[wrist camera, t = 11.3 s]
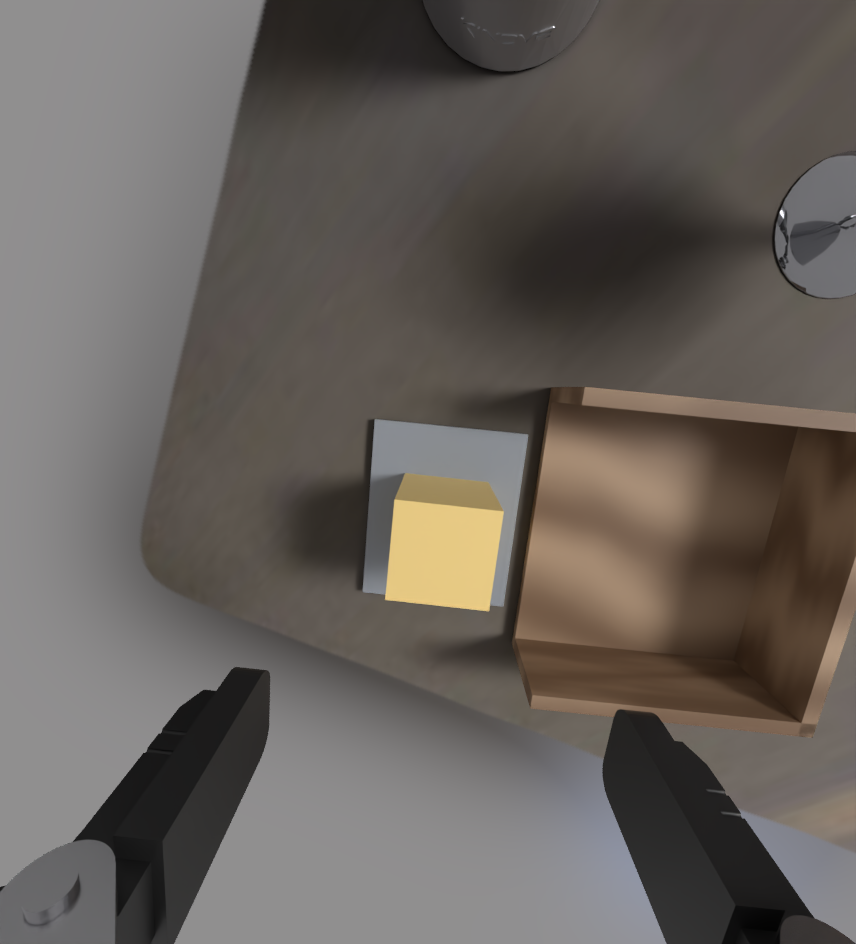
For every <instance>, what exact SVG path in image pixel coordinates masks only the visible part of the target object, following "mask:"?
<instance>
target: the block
mask: <svg viewBox="0 0 856 944" xmlns="http://www.w3.org/2000/svg"><path fill="white" fill-rule="evenodd" d="M503 514H504V511H503V509H502V507H501V505H500V503H499V501H498V499H497V498H496V496H495V494H494V492H493V490H492V488H491V486H490V484H489V482H482V481H473V480H464V479H455V478H446V477H437V476H427V475H418V474H409V473H405V475H404V477H403V480H402V482H401V485H400V487H399V490H398V492H397V495H396V497H395V500H394V510H393V521H392V532H391V543H390V553H389V564H388V575H387V586H386V597H385V600H392V601H401V602H410V603H419V604H428V605H437V606H446V607H455V608H464V609H473V610H482V611H489V608H490V601H491V595H492V588H493V581H494V575H495V568H496V561H497V554H498V548H499V541H500V534H501V528H502V521H503Z"/></svg>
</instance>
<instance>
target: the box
mask: <svg viewBox="0 0 856 944" xmlns="http://www.w3.org/2000/svg"><path fill="white" fill-rule="evenodd" d="M855 610H856V414H854V413H844V412H834V411H824V410H814V409H804V408H794V407H783V406H773V405H763V404H753V403H743V402H733V401H723V400H712V399H702V398H692V397H682V396H672V395H662V394H652V393H641V392H631V391H621V390H611V389H601V388H591V387H552V388H551V392H550V398H549V405H548V411H547V418H546V424H545V431H544V437H543V444H542V450H541V457H540V463H539V470H538V476H537V483H536V489H535V496H534V502H533V509H532V515H531V522H530V528H529V535H528V541H527V548H526V554H525V561H524V567H523V574H522V580H521V587H520V593H519V600H518V606H517V613H516V619H515V626H514V632H513V639H512V646H513V650H514V653H515V656H516V660H517V663H518V667H519V670H520V674H521V677H522V681H523V684H524V688H525V691H526V695H527V698H528V702H529V705H530V708H532V709H541V710H551V711H561V712H570V713H580V714H589V715H599V716H609V717H614V716H615V713H616V711H617V710H619V709H624V710H633V711H643V712H652V713H654V714H656V715H657V716H658V717H659V718H660V720H661V721H662V722H666V723H676V724H686V725H695V726H705V727H714V728H724V729H734V730H743V731H753V732H762V733H772V734H782V735H791V736H801V737H811V738H813V735H814V732H815V729H816V726H817V723H818V720H819V717H820V714H821V711H822V708H823V705H824V702H825V699H826V696H827V693H828V690H829V687H830V684H831V681H832V678H833V675H834V672H835V669H836V666H837V663H838V660H839V657H840V654H841V651H842V648H843V645H844V642H845V640H846V637H847V634H848V631H849V628H850V625H851V622H852V619H853V616H854V613H855Z"/></svg>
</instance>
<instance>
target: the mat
mask: <svg viewBox="0 0 856 944" xmlns="http://www.w3.org/2000/svg"><path fill="white" fill-rule="evenodd" d="M527 441H528V434H523V433H513V432H503V431H493V430H483V429H473V428H462V427H452V426H442V425H432V424H422V423H412V422H402V421H392V420H382V419H375V423H374V437H373V452H372V466H371V480H370V494H369V508H368V522H367V537H366V551H365V565H364V579H363V592H367V593H376V594H386V586H387V575H388V564H389V553H390V543H391V532H392V521H393V510H394V500H395V497H396V495H397V492H398V490H399V487H400V485H401V482H402V480H403V477H404V475H405V473H409V474H418V475H427V476H437V477H446V478H455V479H464V480H473V481H482V482H489V484H490V486H491V488H492V490H493V492H494V494H495V496H496V498H497V499H498V501H499V503H500V505H501V507H502V509H503V511H504V514H503V521H502V528H501V534H500V541H499V548H498V554H497V561H496V568H495V575H494V581H493V588H492V595H491V601H490V605H494V606H503V605H504V598H505V591H506V584H507V577H508V571H509V564H510V557H511V550H512V543H513V536H514V530H515V523H516V516H517V509H518V502H519V495H520V489H521V482H522V475H523V468H524V461H525V454H526V447H527Z"/></svg>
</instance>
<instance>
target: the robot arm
mask: <svg viewBox="0 0 856 944" xmlns="http://www.w3.org/2000/svg"><path fill="white" fill-rule="evenodd" d="M423 3H424V7H425V10H426V12H427V14H428V16H429V18H430V20H431V22H432V24H433V26H434V28H435V30H436V31H437V32H438V33H439V35H440V36H441V37H442V39H443V40H444V41H445V43H446V44H447V45H448V46H449V47H450V48H451V49H453V50H454V51H455V52H456V53H457V54H459V55H460V56H461V57H462V58H463V59H465V60H467V61H470V62H472V63H474V64H476V65H478V66H480V67H482V68H487V69H491V70H496V71H520V70H524V69H527V68H531V67H535V66H538V65H540V64H542V63H544V62H546V61H548V60H549V59H551V58H553V57H555V56H557V55H558V54H559V53H560V52H561V51H563V50H564V49H565V48H566V47H567V46H568V45H570V44H571V43H572V42H573V41H574V40H575V39H576V37H577V36H578V35H579V34H580V32H581V31H582V30H583V28H584V27H585V26H586V25H587V23H588V22H589V20H590V18H591V16H592V14H593V12H594V10H595V8H596V6H597V4H598V3H599V0H423ZM269 703H270V673H269V672H268V671H267V670H259V669H249V668H240V667H235V668H233V669H232V670H231V671H230V673H229V674H228V675H227V677H226V678H225V679H224V681H223V682H222V684H221V686H220V687H219V688H218V689H217V691H211V690H203V691H201V692H200V693H199V694H197V695H196V696H194V697H193V698H192V699H191V700H189V701H188V702H186V703H185V704H183V705H182V706H181V707H180V708H179V709H178V710H177V711H176V713H175V714H174V715H173V717H172V718H171V719H170V720H169V722H168V723H167V724H166V725H165V727H164V728H163V730H162V733H161V734H158V735H157V737H156V738H155V739H154V741H153V742H152V743H151V744H150V746H149V747H148V749H147V752H146V753H143V754H142V756H141V757H140V758H139V759H138V761H137V762H136V763H135V765H134V766H133V767H132V768H131V770H130V771H129V772H128V773H127V775H126V776H125V777H124V778H123V780H122V781H121V783H120V784H119V785H118V786H117V787H116V789H115V790H114V791H113V792H112V794H111V795H110V796H109V797H108V799H107V800H106V801H105V803H104V804H103V805H102V806H101V808H100V809H99V810H98V811H97V813H96V814H95V815H94V817H93V818H92V819H91V820H90V822H89V823H88V824H87V825H86V827H85V828H84V829H83V830H82V832H81V833H80V834H79V835H78V836H77V837H76V839H75V840H74V841H73V842H71V843H68V844H65V845H63V846H60V847H58V848H55V849H53V850H52V851H50V852H48V853H46V854H44V855H43V856H41V857H39V858H38V859H36V860H35V861H33V862H32V863H31V864H29V865H28V866H26V867H25V868H24V869H23V870H22V871H21V872H20V873H18V874H17V875H16V876H15V877H14V878H13V879H12V880H11V881H10V882H9V883H8V884H7V885H6V886H2V887H0V944H174V942H175V940H176V938H177V936H178V934H179V932H180V930H181V927H182V925H183V923H184V921H185V919H186V917H187V915H188V913H189V910H190V908H191V906H192V904H193V902H194V899H195V897H196V895H197V893H198V891H199V889H200V887H201V885H202V883H203V880H204V878H205V876H206V874H207V872H208V870H209V867H210V866H211V863H212V861H213V859H214V857H215V855H216V853H217V851H218V848H219V846H220V844H221V842H222V840H223V838H224V835H225V834H226V831H227V829H228V827H229V825H230V823H231V821H232V818H233V817H234V814H235V812H236V810H237V808H238V806H239V804H240V801H241V799H242V797H243V795H244V793H245V791H246V789H247V787H248V784H249V782H250V780H251V778H252V776H253V774H254V771H255V770H256V767H257V765H258V763H259V761H260V758H261V756H262V754H263V751H264V748H265V744H266V740H267V736H268V730H269V705H270V704H269ZM603 781H604V787H605V791H606V795H607V798H608V800H609V803H610V805H611V808H612V810H613V813H614V815H615V817H616V820H617V822H618V825H619V827H620V830H621V832H622V835H623V837H624V840H625V842H626V844H627V847H628V850H629V852H630V854H631V857H632V859H633V862H634V864H635V867H636V869H637V872H638V874H639V877H640V879H641V882H642V884H643V886H644V889H645V891H646V894H647V896H648V899H649V901H650V904H651V906H652V909H653V911H654V914H655V916H656V918H657V921H658V923H659V926H660V928H661V931H662V933H663V936H664V938H665V941H666V943H667V944H855V943H854V942H853V941H852V940H850V939H849V938H848V937H846V936H845V935H844V934H842V933H841V932H839V931H838V930H836V929H834V928H833V927H831V926H829V925H828V924H826V923H824V922H821V921H819V920H817V919H815V918H814V917H813V915H812V914H811V913H810V912H809V910H808V909H807V907H806V906H805V904H804V903H803V902H802V900H801V899H800V898H799V896H798V894H797V893H796V892H795V890H794V889H793V887H792V886H791V884H790V883H789V881H788V880H787V879H786V877H785V876H784V874H783V873H782V872H781V870H780V869H779V867H778V866H777V864H776V863H775V861H774V860H773V859H772V857H771V856H770V855H769V853H768V852H767V850H766V849H765V847H764V846H763V844H762V843H761V842H760V840H759V839H758V837H757V836H756V834H755V833H754V832H753V830H752V829H751V827H750V826H749V824H748V823H747V821H746V820H745V819H742V818H741V815H740V814H741V813H740V811H739V810H738V809H737V807H736V806H735V804H734V803H733V801H732V800H731V798H730V797H729V796H726V794H725V790H724V788H723V787H722V786H721V784H720V783H719V781H718V780H717V778H716V777H715V776H714V774H713V773H712V771H711V770H710V768H709V767H708V766H707V764H706V763H705V762H703V761H702V760H701V759H700V758H699V757H698V756H697V755H696V754H695V753H694V752H693V751H692V750H690V749H689V748H688V747H687V746H686V745H685V744H684V743H683V742H678V741H674V740H673V738H672V737H671V735H670V733H669V732H668V730H667V729H666V727H665V726H664V724H663V723H662V721H661V720H660V718H659V717H658V716H657V715H656V714H654V713H652V712H643V711H633V710H624V709H619V710H617V711H616V713H615V716H614V719H613V723H612V728H611V732H610V736H609V740H608V744H607V748H606V752H605V756H604V761H603Z"/></svg>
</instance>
